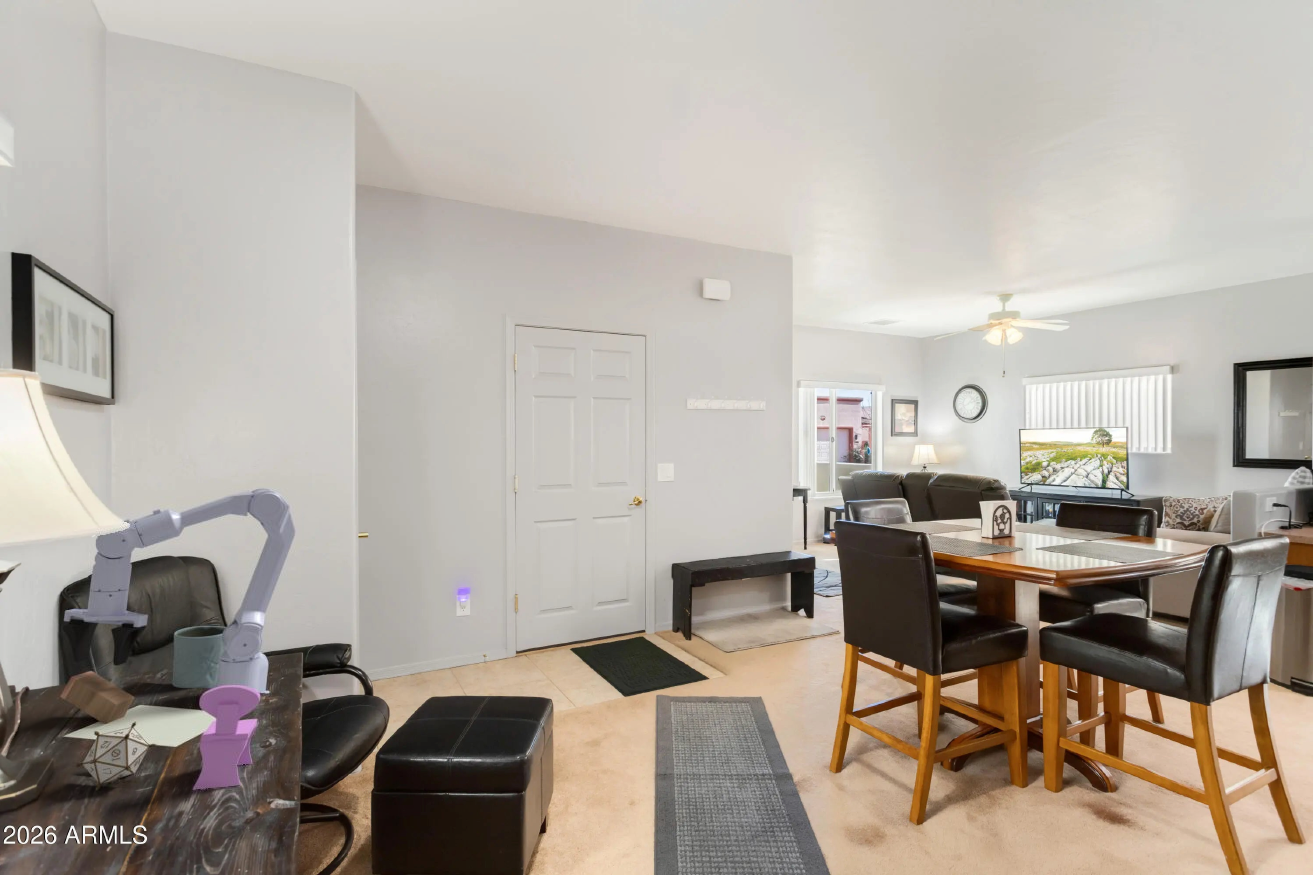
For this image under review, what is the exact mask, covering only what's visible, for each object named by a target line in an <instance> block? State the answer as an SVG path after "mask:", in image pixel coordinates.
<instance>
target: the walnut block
mask: <svg viewBox="0 0 1313 875" xmlns="http://www.w3.org/2000/svg"><path fill="white" fill-rule="evenodd" d="M59 697H60V698H61V699H63V700H65V701H67V702H68V703H69V704H71V705H73V706H74V707H77V709H80V710H81V711H83V712H84V713H86V714H87V715H89V716H91V717H92V718H93V719H96V720H97V721H98V722H99V721H100V722H102V723H104V724H107V723H110V722H112V721H115V720H117V719H119V718H122V717H124V716H125V714H126V712H127V711H128V710H129V709H130V707H131V705H132V703H133V702H134V700H135V699H136V697H135V696H133V695H132V694H130V693H128V692H127V691H125V690H123V689H122V688H120V687H118V686H117V685H115V684H114V683H112V682H110V681H109V680H107V679H106V678H104V677H102V676H100V674H97V673H96V672H94V671H92V670H89V671H86V672H83V673H79V674H76V675H74V676H71V677H70V679H69V680H68V682H67V683H66V686H65V687H64V689H63V691H62V693H61V694H60V696H59Z"/></svg>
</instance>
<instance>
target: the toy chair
mask: <svg viewBox="0 0 1313 875" xmlns="http://www.w3.org/2000/svg"><path fill="white" fill-rule="evenodd" d="M260 700H261V693H259V692H258V691H256V690H255V689H252V688H250V687H246V686H241V685H225V686H219V687H216V688H213V689H212V688H209V689H208V690H206V691H205V692H204V693H202V695H201V696H200V697H199V707H200V709H201V710H203V711H205V712H207V713H208V714H210V715H212V716H213V717H215V718H216V721H213V722H212V723H211V725H210V726H209V728H208V729H207V730H206V731H205V732H203V733H201V735H200V743H199V750H200V754H201V757H202V758H201V759H202V767H201V771H200V774H199V777H197V778H198V779H197V780H196V781H195V784H194V785H193V788H192V791H197V790H196V789H201V790H209V789H208V788H213V789H216V788H215V787H226V788H229V787H228V786H234V785H240V786H241V781H240V777H239V772H238V771H239V770H238V766H247V765H246V764H252V765H253V760H252V756H251V751H250V745H251V744H250V743H251V739H252V737H253V735H254V733H255V732H256V730H257V728H258V718H254V719H253V718H251V719H250V718H248V719H241V718H242V717H244V716H245V715H247V714H250V713H251V712H252V711H253V710H254V709H256V708H257V706H258V705H259V703H260ZM240 719H241V720H240ZM243 764H245V765H243ZM237 765H238V766H237ZM206 788H207V789H206Z"/></svg>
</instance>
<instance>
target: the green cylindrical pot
mask: <svg viewBox="0 0 1313 875" xmlns="http://www.w3.org/2000/svg"><path fill="white" fill-rule="evenodd" d="M226 627H227V626H220V625H200V626H199V625H198V626H191V627H190V626H189V627H185V628H181V629H178V630H176V631H175V632H174V634H173V652H174V654H173V660H172V662H173V666H172V670H173V671H172V683H171V684H172V686H173V687H175V688H180V689H195V688H200V689H201V688H203V689H213V688H216V684H217V676H218V667H219V659H220V655H221V654H222V653H223V652H224V650H225V649H226V646H225V645H224V644H223V642H222V634H223V631H224V630H225V628H226Z"/></svg>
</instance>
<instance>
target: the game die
mask: <svg viewBox="0 0 1313 875" xmlns="http://www.w3.org/2000/svg"><path fill="white" fill-rule="evenodd" d="M135 725H136V722H134V723H132V725H131V727H130V728H126V729H121V730H117V731H113V732H109V733H105V734H99V732H97V731H94V735H95V736H97V738H96V740H95V739H94V742H93V743H92V745H91V747H90V749H89V751H88V752H87V754H85V756H84V758H83V761H82V762H78V763H76V764H75V765H74V767H76V768H79V767H81V766H82V767H83V768H84V769H85V770H86V771H87V772H88V774H89V775H90V776H91V777H92V778H93V779H94V781H95V782H97V785H96V786H95V791H96V790H97V791H98V790H100V789H101V787H102V785H104V784H107V783H110V782H114V781H118V780H119V779H120V778H123V777H127V776H130V775H134V774H136V773H137V771H138V769H139V768H140V766H141V764H142V762H143V760H144V758H146V755H147V753H148V752H149V750H150V748H155V747H156V746H158V745H157V744H151V745H149V744H148V743H147V742H146V741H145V740H144V739H143V738H142V737H141V735H140V734H139V733H138V732H137V731H136V730H135V729H134V726H135Z"/></svg>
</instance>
